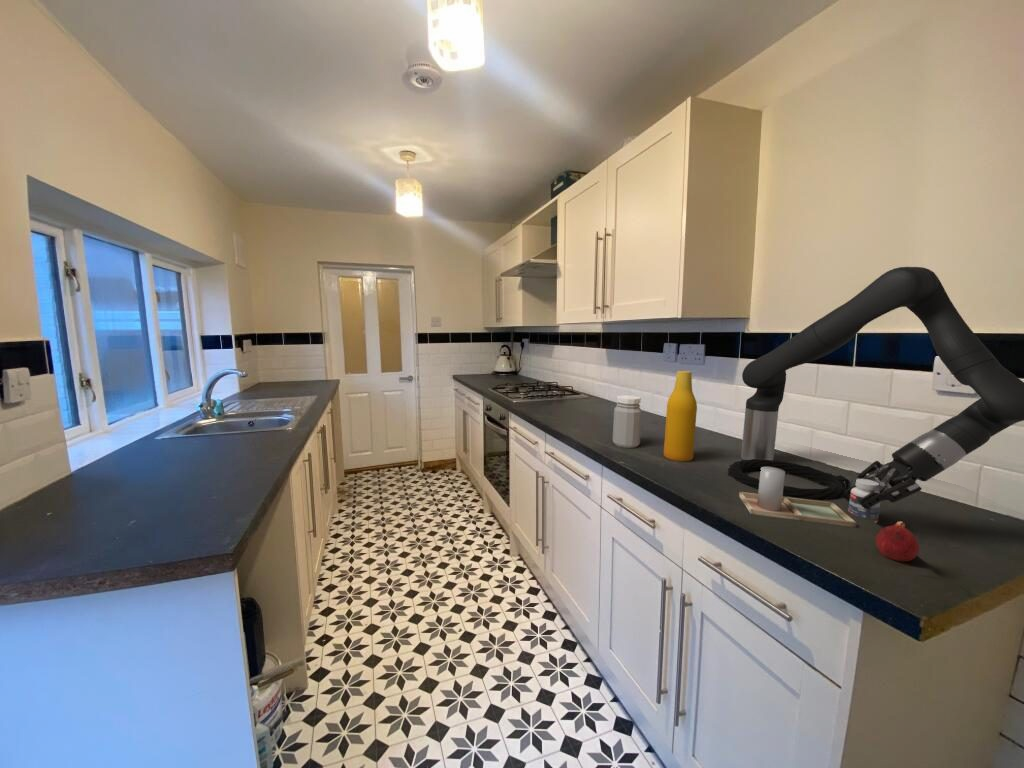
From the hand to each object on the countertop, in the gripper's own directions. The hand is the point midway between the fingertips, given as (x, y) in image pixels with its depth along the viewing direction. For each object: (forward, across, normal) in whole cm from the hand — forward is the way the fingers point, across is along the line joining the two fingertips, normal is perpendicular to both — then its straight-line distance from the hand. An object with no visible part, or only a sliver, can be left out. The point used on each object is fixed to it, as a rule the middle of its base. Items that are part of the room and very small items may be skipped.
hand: (855, 500), depth 94 cm
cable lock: (+9, -19, -2) cm, 21 cm away
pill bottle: (+2, 0, +4) cm, 5 cm away
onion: (+5, +20, +2) cm, 21 cm away
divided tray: (+12, +3, -6) cm, 14 cm away
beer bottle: (+27, -35, -21) cm, 49 cm away
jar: (+39, -45, -33) cm, 68 cm away
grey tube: (+15, +3, -11) cm, 19 cm away
